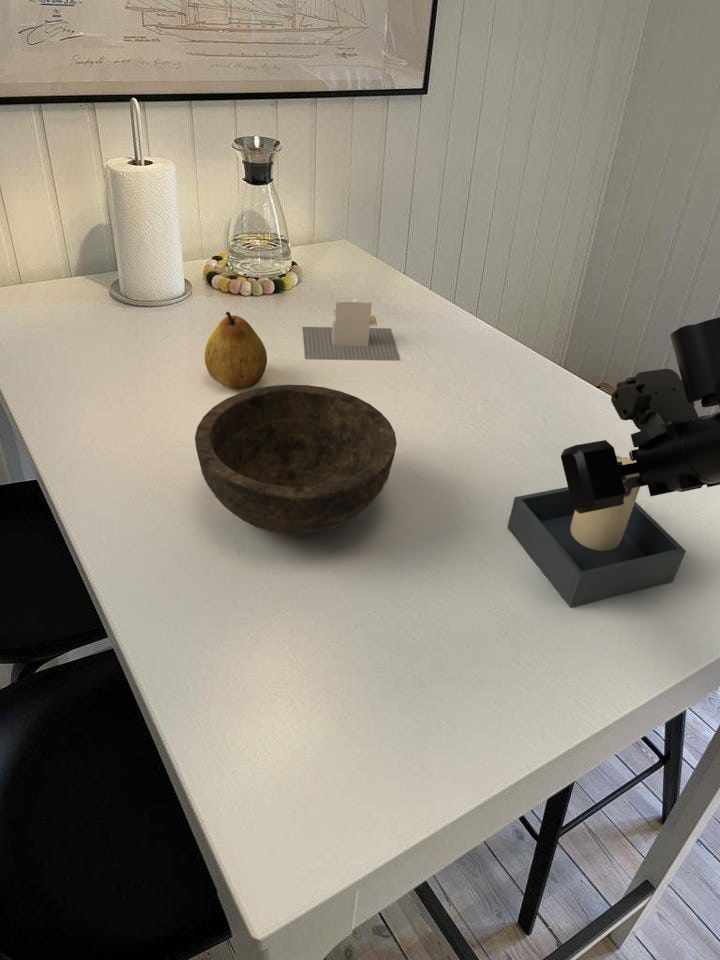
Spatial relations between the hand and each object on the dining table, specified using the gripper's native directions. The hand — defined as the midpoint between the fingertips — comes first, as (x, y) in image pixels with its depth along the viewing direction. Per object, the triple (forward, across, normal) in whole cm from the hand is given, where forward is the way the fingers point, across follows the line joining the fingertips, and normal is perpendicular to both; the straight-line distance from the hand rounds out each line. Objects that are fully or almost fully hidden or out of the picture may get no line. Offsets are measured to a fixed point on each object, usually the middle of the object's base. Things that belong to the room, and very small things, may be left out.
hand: (603, 479), depth 79 cm
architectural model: (+44, +9, -32) cm, 55 cm away
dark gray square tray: (+6, 0, +8) cm, 10 cm away
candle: (+4, 0, +6) cm, 7 cm away
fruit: (+39, +29, -26) cm, 55 cm away
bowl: (+18, +29, -4) cm, 34 cm away
